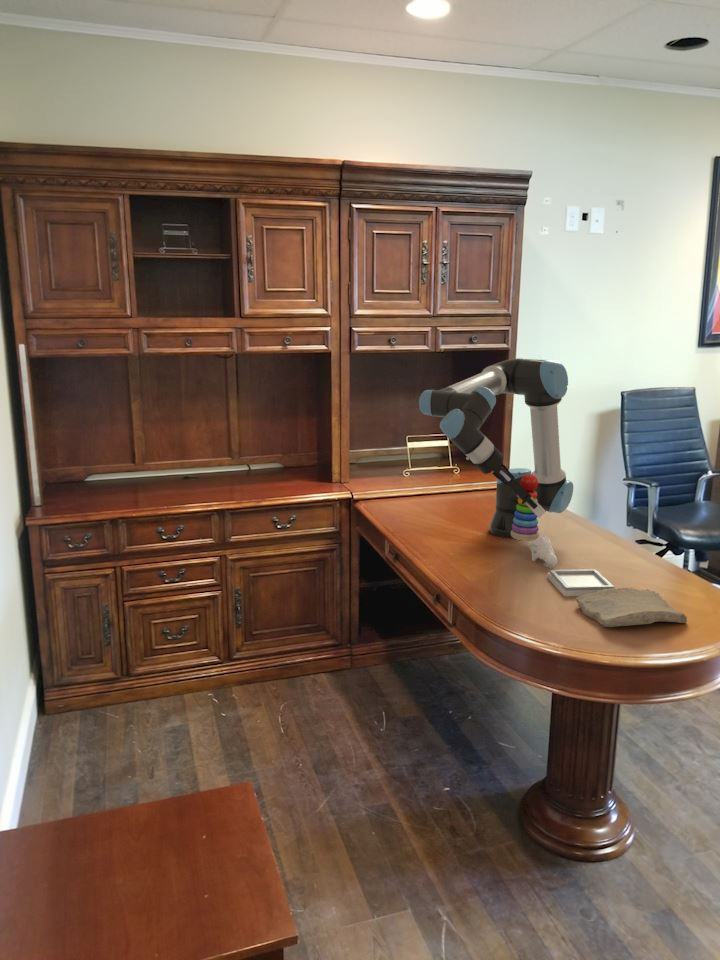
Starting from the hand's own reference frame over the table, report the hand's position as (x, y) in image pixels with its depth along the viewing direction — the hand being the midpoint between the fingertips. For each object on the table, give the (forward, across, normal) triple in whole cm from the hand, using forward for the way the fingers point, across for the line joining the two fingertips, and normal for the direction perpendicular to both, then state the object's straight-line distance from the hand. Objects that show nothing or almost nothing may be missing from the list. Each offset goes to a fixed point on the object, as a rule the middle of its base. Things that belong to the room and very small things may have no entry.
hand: (538, 511), depth 211 cm
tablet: (+30, +23, -3) cm, 38 cm away
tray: (+26, +1, -6) cm, 27 cm away
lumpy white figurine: (+23, -19, -10) cm, 31 cm away
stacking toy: (+3, 0, -8) cm, 9 cm away
